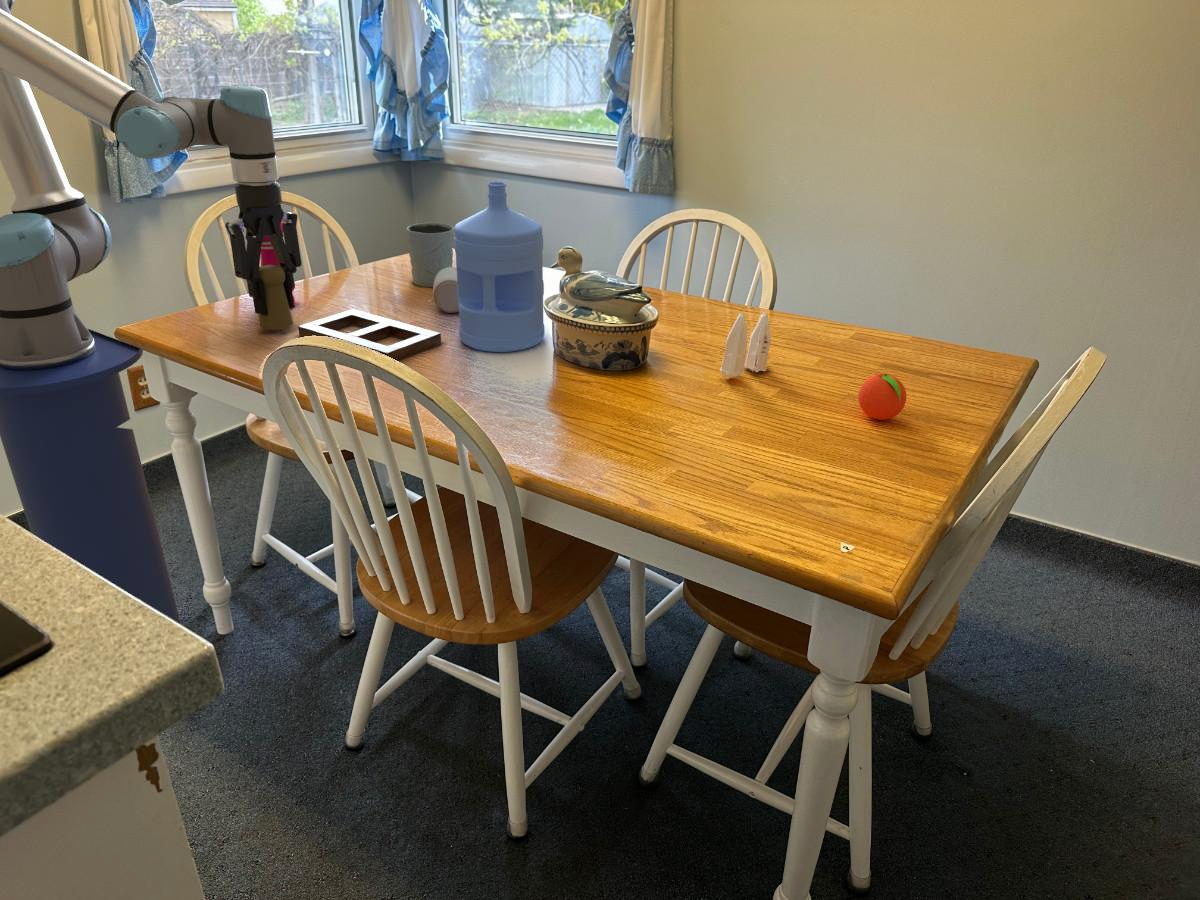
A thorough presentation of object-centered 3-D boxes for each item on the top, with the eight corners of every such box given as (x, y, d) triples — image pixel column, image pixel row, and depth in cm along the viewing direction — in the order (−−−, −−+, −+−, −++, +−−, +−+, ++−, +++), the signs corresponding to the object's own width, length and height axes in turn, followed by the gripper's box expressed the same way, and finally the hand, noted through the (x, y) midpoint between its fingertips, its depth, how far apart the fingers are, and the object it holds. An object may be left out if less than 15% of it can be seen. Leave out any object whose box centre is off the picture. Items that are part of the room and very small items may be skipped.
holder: (388, 364, 151) (387, 353, 150) (299, 336, 162) (297, 326, 161) (441, 343, 160) (440, 333, 159) (353, 318, 172) (352, 309, 171)
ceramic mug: (433, 315, 174) (431, 277, 171) (435, 302, 182) (433, 266, 178) (486, 315, 176) (485, 277, 172) (486, 302, 183) (485, 266, 180)
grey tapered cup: (412, 275, 200) (408, 222, 195) (457, 275, 201) (454, 222, 196) (408, 288, 191) (404, 233, 186) (455, 287, 192) (452, 232, 187)
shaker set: (731, 387, 144) (737, 322, 139) (711, 380, 146) (716, 316, 141) (774, 369, 151) (781, 307, 146) (754, 362, 154) (760, 301, 149)
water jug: (475, 322, 171) (468, 173, 158) (553, 329, 168) (552, 178, 156) (447, 349, 157) (436, 189, 145) (531, 357, 155) (528, 194, 142)
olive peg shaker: (266, 318, 168) (258, 261, 163) (298, 319, 168) (291, 262, 163) (254, 328, 163) (245, 270, 158) (287, 329, 163) (279, 271, 158)
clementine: (915, 427, 131) (924, 383, 127) (874, 432, 129) (882, 388, 126) (885, 406, 138) (893, 364, 134) (846, 411, 136) (853, 368, 133)
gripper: (223, 191, 145) (245, 326, 156) (313, 178, 159) (327, 302, 169) (196, 185, 149) (219, 317, 159) (286, 173, 162) (301, 295, 173)
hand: (274, 309), depth 164 cm, fingers closed on olive peg shaker, 5 cm apart
